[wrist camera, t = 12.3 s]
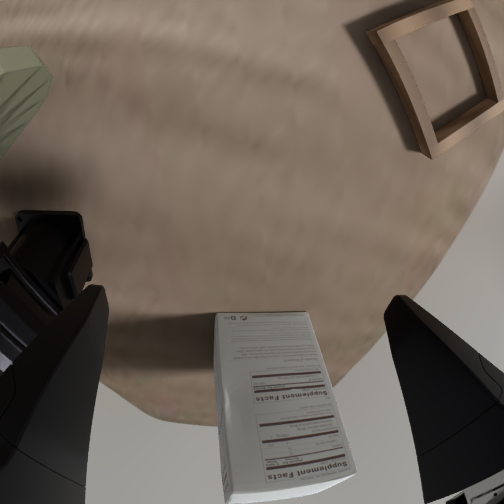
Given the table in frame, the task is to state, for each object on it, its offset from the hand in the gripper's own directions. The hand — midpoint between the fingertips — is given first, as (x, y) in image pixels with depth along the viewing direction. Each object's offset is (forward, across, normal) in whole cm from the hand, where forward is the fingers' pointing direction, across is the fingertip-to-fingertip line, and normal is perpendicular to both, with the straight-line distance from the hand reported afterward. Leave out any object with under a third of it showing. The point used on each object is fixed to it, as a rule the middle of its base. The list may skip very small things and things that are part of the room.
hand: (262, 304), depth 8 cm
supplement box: (+13, -5, +19) cm, 24 cm away
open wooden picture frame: (+13, -14, -10) cm, 22 cm away
